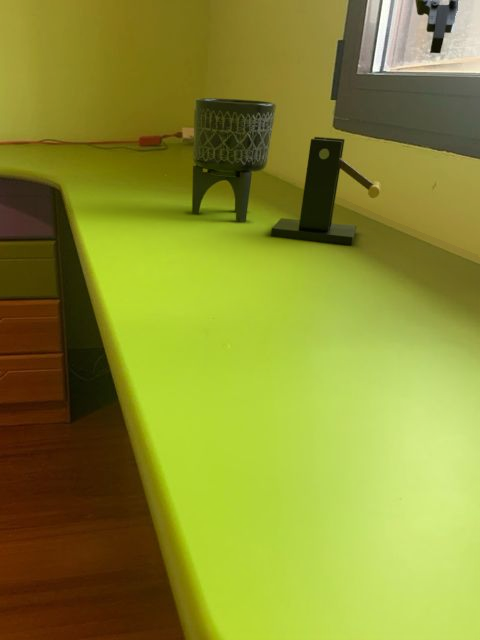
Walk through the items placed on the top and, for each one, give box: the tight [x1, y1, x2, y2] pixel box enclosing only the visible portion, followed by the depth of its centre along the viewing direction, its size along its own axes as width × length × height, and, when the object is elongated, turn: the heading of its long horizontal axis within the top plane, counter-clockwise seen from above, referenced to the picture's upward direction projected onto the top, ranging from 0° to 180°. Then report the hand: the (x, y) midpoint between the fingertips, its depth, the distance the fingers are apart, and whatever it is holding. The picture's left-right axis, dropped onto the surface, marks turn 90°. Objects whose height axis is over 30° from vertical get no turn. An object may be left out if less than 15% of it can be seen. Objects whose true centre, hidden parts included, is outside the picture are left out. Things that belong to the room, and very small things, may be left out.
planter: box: [191, 97, 277, 223], centre depth 114 cm, size 13×13×18 cm
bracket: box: [270, 136, 357, 246], centre depth 104 cm, size 12×9×14 cm
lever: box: [324, 139, 382, 199], centre depth 101 cm, size 11×6×2 cm
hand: (436, 45), depth 103 cm, fingers closed
